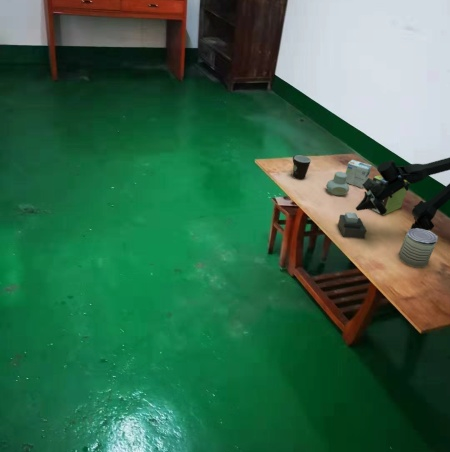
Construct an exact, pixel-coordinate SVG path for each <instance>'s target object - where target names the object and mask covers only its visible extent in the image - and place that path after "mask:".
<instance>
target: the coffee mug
mask: <svg viewBox="0 0 450 452" xmlns="http://www.w3.org/2000/svg"><path fill="white" fill-rule="evenodd" d="M292 162H293V166H292V167H293V168H292V178H294V179H296V180H304V179H306V176H307V173H308V170H309V167H310V164H311V162H312V159H311V158H310V157H308V156H306V155H299V154H298V155H293V156H292Z"/></svg>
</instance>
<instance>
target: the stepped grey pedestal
mask: <svg viewBox="0 0 450 452" xmlns="http://www.w3.org/2000/svg"><path fill="white" fill-rule="evenodd" d="M344 216H345V214H339V219H338V222H337V226H338V228H339V231H340V233H341V235H342V237H343V238H350V239H351V238H354V239H365V237H366V234H367V229H366V227H365V225H364V223H363V221H362V218H360V217H358V221H357V223H349V222H346V220H345V218H344Z"/></svg>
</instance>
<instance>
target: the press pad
mask: <svg viewBox="0 0 450 452" xmlns="http://www.w3.org/2000/svg"><path fill="white" fill-rule="evenodd" d="M344 215H345V216H344V218H345V220H346V222H349V223H357V221H358V218H359V217H358V215H357V213H356V212H349V211H348V212H345V213H344Z"/></svg>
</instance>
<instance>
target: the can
mask: <svg viewBox="0 0 450 452" xmlns="http://www.w3.org/2000/svg"><path fill="white" fill-rule="evenodd" d="M438 237H439V236H438V235H436V234H435V233H434V232H433V231H431V230H429V231H428V230H424V229H419V228H415V229H411V228H409V229H407V231H406V233H405V236H404V239H403V241H402V244H401V246H400V250H399V252H398V259H399V260H400V261H401V262H402V263H404V264H405V265H407V266H409V267H412V268H424V267H426V266H427V265H428V263H429V260H430V259H431V256H432V254H433V252H434V249H435V247H436V245H437V243H438V239H439V238H438Z"/></svg>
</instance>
